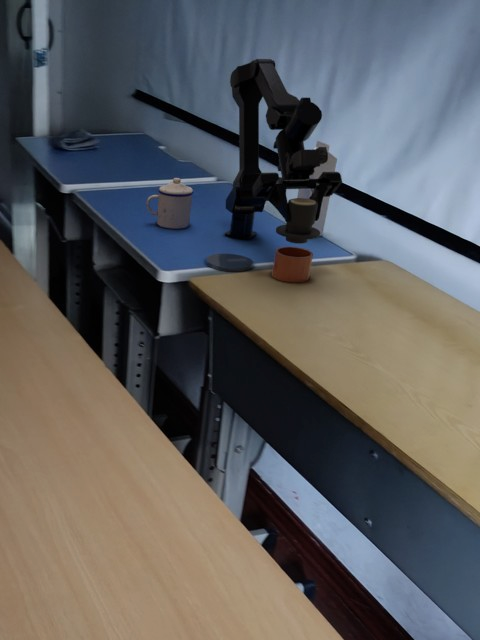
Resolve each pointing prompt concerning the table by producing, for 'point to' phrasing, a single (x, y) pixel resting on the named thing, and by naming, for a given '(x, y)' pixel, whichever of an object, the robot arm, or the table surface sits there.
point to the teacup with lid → (173, 205)
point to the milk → (325, 167)
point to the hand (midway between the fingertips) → (302, 220)
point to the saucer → (229, 262)
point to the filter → (300, 221)
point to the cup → (292, 264)
